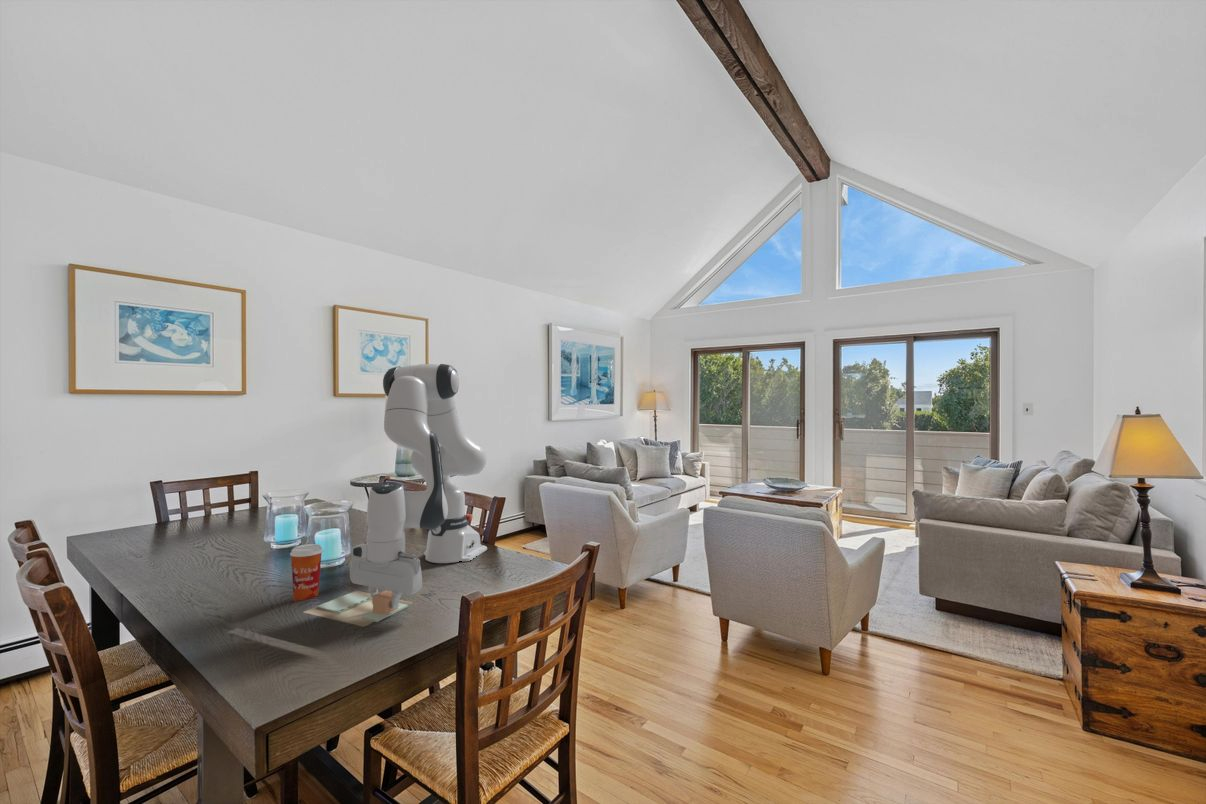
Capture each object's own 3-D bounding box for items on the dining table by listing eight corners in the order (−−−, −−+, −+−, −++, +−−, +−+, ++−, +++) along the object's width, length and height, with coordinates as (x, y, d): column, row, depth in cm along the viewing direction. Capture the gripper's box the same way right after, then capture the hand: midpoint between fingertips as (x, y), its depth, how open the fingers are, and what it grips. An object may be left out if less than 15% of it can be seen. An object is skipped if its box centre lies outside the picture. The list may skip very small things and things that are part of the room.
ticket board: (356, 595, 144) (356, 588, 144) (413, 607, 136) (413, 600, 136) (302, 617, 129) (302, 609, 129) (363, 631, 121) (363, 623, 121)
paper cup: (285, 606, 135) (285, 552, 135) (294, 596, 143) (294, 544, 142) (318, 604, 137) (319, 550, 137) (326, 593, 145) (326, 542, 145)
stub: (392, 603, 135) (393, 586, 135) (408, 606, 133) (408, 589, 133) (361, 618, 126) (361, 599, 126) (377, 622, 124) (377, 603, 124)
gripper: (428, 551, 128) (427, 608, 128) (365, 541, 136) (365, 595, 136) (409, 558, 122) (409, 617, 122) (345, 547, 130) (344, 603, 130)
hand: (385, 605), depth 129 cm, fingers closed on stub, 4 cm apart
